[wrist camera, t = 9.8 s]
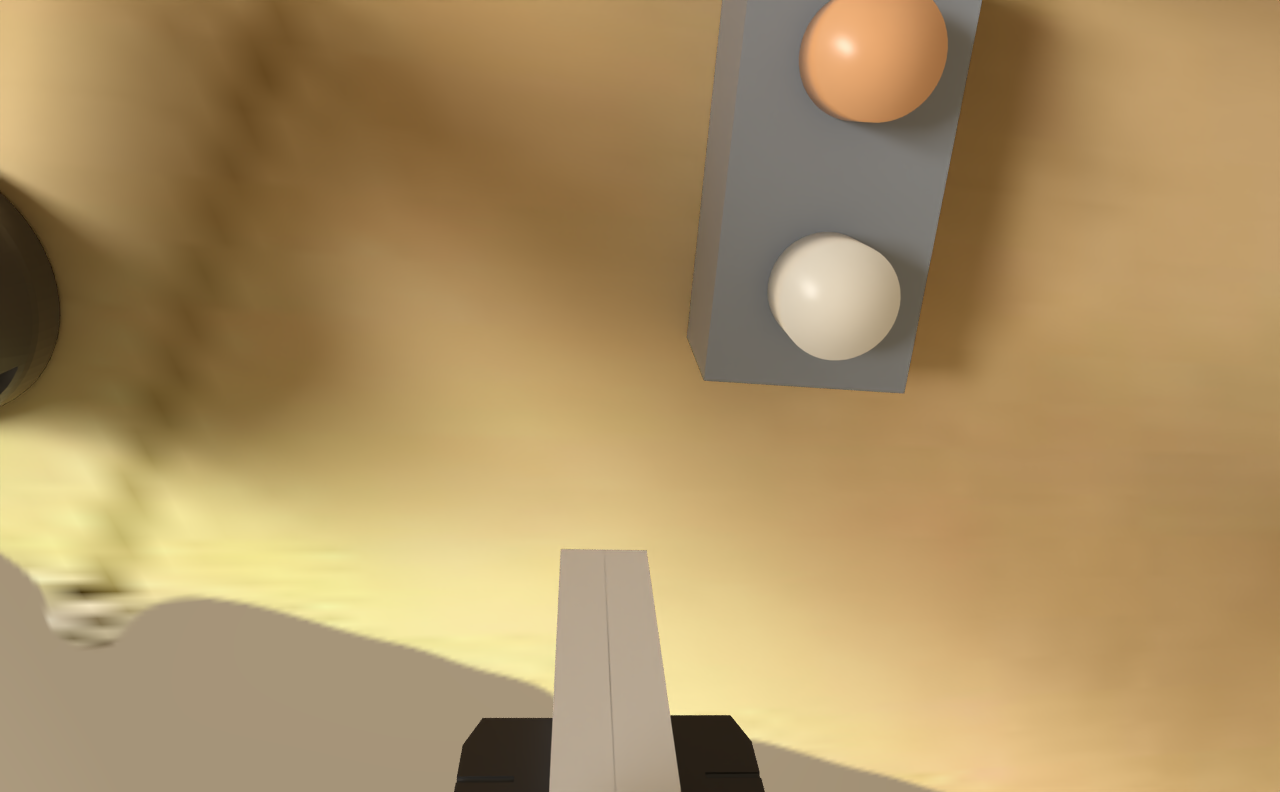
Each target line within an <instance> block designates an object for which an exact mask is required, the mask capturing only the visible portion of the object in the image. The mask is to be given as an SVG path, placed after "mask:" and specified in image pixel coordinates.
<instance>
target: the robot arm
mask: <svg viewBox="0 0 1280 792" xmlns="http://www.w3.org/2000/svg"><path fill="white" fill-rule="evenodd" d="M59 319H60V307H59V297H58V291H57V285H56V281H55V278H54V274H53V271H52V268H51V265H50V263H49V260H48V258H47V256H46V253H45V251H44V249H43V247H42V245H41V243H40V242H39V240H38V238H37V237H36V235H35V233H34V232H33V230H32V229H31V227H30V226H29V224H28V223H27V222H26V220H25V219H24V218H23V217H22V215H21V214H20V213H19V212H18V210H17V209H16V208H15V207H14V206H13V205H12V204H11V203H10V202H9V201H8V200H7V199H6V198H5V197H4V196H3V195H2V194H1V193H0V406H2V405H4V404H6V403H8V402H10V401H11V400H13V399H15V398H16V397H18V396H19V395H20V394H22V393H23V392H24V391H25V390H27V389H28V388H29V387H30V386H31V385H32V384H33V383H34V382H35V381H36V379H37V378H38V377H39V376H40V374H41V373H42V372H43V370H44V369H45V367H46V365H47V363H48V362H49V360H50V357H51V355H52V353H53V350H54V347H55V344H56V340H57V336H58V330H59ZM454 792H765V791H764V788H763V783H762V780H761V778H760V776H759V768H758V764H757V761H756V757H755V753H754V749H753V745H752V742H751V740H750V739H749V738H748V737H747V735H746V734H745V733H744V732H743V730H742V729H741V728H740V727H739V725H738V724H737V723H736V722H735V721H734V719H733V718H732V717H731V716H730V715H670V711H669V704H668V697H667V690H666V683H665V676H664V669H663V662H662V655H661V648H660V641H659V634H658V627H657V620H656V613H655V606H654V599H653V592H652V585H651V578H650V571H649V564H648V557H647V550H586V549H561V556H560V576H559V597H558V618H557V639H556V660H555V681H554V701H553V718H482V720H481V721H480V723H479V724H478V725H477V727H476V728H475V729H474V731H473V732H472V733H471V735H470V736H469V737H468V739H467V740H466V742H465V743H464V744H463V747H462V753H461V758H460V763H459V769H458V774H457V783H456V785H455V791H454Z"/></svg>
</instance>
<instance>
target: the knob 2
mask: <svg viewBox="0 0 1280 792" xmlns="http://www.w3.org/2000/svg"><path fill="white" fill-rule="evenodd" d="M767 292H768V302H769V306H770V309H771V312H772V314H773V316H774V318H775V319H776V321H777V322H778V324H779V325H780V326H781V327H782V328H783V330H784V331H785V332H786V333H787V334H788V336H789V337H790V338H791V339H792V340H793V342H794V343H795V344H796V345H797V346H798V347H799V348H801V349H802V350H803V351H805V352H806V353H808V354H810V355H812V356H814V357H817V358H821V359H825V360H846V359H850V358H854V357H857V356H860V355H862V354H864V353H866V352H868V351H869V350H871V349H872V348H874V347H875V346H876V345H877V344H878V343H880V342H881V341H882V340H883V339H884V337H885V336H886V335H887V334H888V332H889V331H890V329H891V328H892V326H893V324H894V322H895V320H896V317H897V315H898V311H899V307H900V299H901V297H900V285H899V281H898V277H897V275H896V273H895V270H894V269H893V267H892V266H891V264H890V263H889V262H888V260H887V259H886V258H885V257H884V256H883V255H882V254H880V253H879V252H878V251H876V250H874V249H873V248H871V247H869V246H867V245H865V244H863V243H861V242H859V241H857V240H855V239H853V238H851V237H849V236H847V235H844V234H841V233H835V232H820V233H814V234H810V235H808V236H805V237H803V238H801V239H799V240H797V241H796V242H794V243H793V244H791V245H790V246H789V247H788V248H787V249H786V250H785V251H784V252H783V253H782V254H781V255H780V256H779V258H778V259H777V261H776V263H775V264H774V266H773V268H772V271H771V274H770V277H769V282H768V291H767Z"/></svg>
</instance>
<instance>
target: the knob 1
mask: <svg viewBox="0 0 1280 792" xmlns="http://www.w3.org/2000/svg"><path fill="white" fill-rule="evenodd" d="M947 52H948V37H947V30H946V25H945V22H944V19H943V16H942V14H941V12H940V10H939V8H938V7H937V5H936V4H935V2H934V1H933V0H830V1H829V2H828V3H827V4H825V5H824V6H823V7H822V8H821V9H820V10H819V11H818V12H817V13H816V14H815V16H814V17H813V18H812V20H811V21H810V23H809V25H808V26H807V29H806V31H805V33H804V36H803V39H802V42H801V46H800V51H799V70H800V76H801V80H802V83H803V86H804V88H805V90H806V92H807V94H808V96H809V97H810V99H811V100H812V101H813V102H814V104H815V105H816V106H817V107H818V108H820V109H821V110H822V111H823V112H825V113H826V114H828V115H830V116H832V117H834V118H837V119H840V120H845V121H854V122H873V123H880V122H888V121H892V120H896V119H898V118H901V117H903V116H905V115H907V114H909V113H910V112H912V111H913V110H915V109H916V108H917V107H919V106H920V105H921V104H922V103H923V102H924V101H925V100H926V99H927V98H928V97H929V96H930V94H931V93H932V92H933V90H934V89H935V87H936V86H937V84H938V82H939V80H940V78H941V76H942V73H943V70H944V67H945V63H946V59H947Z"/></svg>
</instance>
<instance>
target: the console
mask: <svg viewBox="0 0 1280 792" xmlns="http://www.w3.org/2000/svg"><path fill="white" fill-rule="evenodd" d="M829 1H830V0H722V8H721V18H720V27H719V37H718V46H717V56H716V65H715V75H714V84H713V94H712V103H711V113H710V122H709V132H708V141H707V151H706V160H705V170H704V179H703V189H702V198H701V208H700V217H699V227H698V236H697V246H696V255H695V265H694V274H693V284H692V293H691V303H690V312H689V322H688V331H687V339H688V341H689V344H690V346H691V349H692V352H693V354H694V357H695V359H696V362H697V364H698V367H699V369H700V372H701V375H702V377H703V380H704V381H719V382H735V383H750V384H766V385H781V386H797V387H812V388H828V389H843V390H859V391H874V392H890V393H904V392H905V387H906V382H907V377H908V372H909V367H910V362H911V357H912V351H913V346H914V341H915V336H916V331H917V326H918V321H919V316H920V311H921V306H922V301H923V296H924V291H925V286H926V281H927V276H928V271H929V266H930V261H931V256H932V251H933V246H934V241H935V235H936V230H937V225H938V220H939V215H940V210H941V205H942V200H943V195H944V190H945V185H946V180H947V175H948V170H949V165H950V160H951V155H952V150H953V145H954V140H955V135H956V130H957V125H958V119H959V114H960V109H961V104H962V99H963V94H964V89H965V84H966V79H967V74H968V69H969V64H970V59H971V54H972V49H973V44H974V39H975V34H976V29H977V24H978V19H979V14H980V8H981V3H982V0H933V1H934V2H935V4H936V5H937V7H938V8H939V10H940V12H941V14H942V16H943V19H944V22H945V25H946V30H947V37H948V52H947V59H946V63H945V67H944V70H943V73H942V76H941V78H940V80H939V82H938V84H937V86H936V87H935V89H934V90H933V92H932V93H931V94H930V96H929V97H928V98H927V99H926V100H925V101H924V102H923V103H922V104H921V105H920V106H919V107H917V108H916V109H915V110H913V111H912V112H910V113H909V114H907V115H905V116H903V117H901V118H898V119H896V120H892V121H888V122H880V123H873V122H854V121H845V120H840V119H837V118H834V117H832V116H830V115H828V114H826V113H825V112H823V111H822V110H821V109H820V108H818V107H817V106H816V105H815V104H814V102H813V101H812V100H811V99H810V97H809V96H808V94H807V92H806V90H805V88H804V86H803V83H802V80H801V76H800V70H799V51H800V46H801V42H802V39H803V36H804V33H805V31H806V29H807V26H808V25H809V23H810V21H811V20H812V18H813V17H814V16H815V14H816V13H817V12H818V11H819V10H820V9H821V8H822V7H823V6H824V5H825V4H827V3H828V2H829ZM820 232H835V233H841V234H844V235H847V236H849V237H851V238H853V239H855V240H857V241H859V242H861V243H863V244H865V245H867V246H869V247H871V248H873V249H874V250H876V251H878V252H879V253H880V254H882V255H883V256H884V257H885V258H886V259H887V260H888V262H889V263H890V264H891V266H892V267H893V269H894V270H895V273H896V275H897V277H898V281H899V285H900V297H901V299H900V307H899V311H898V315H897V317H896V320H895V322H894V324H893V326H892V328H891V329H890V331H889V332H888V334H887V335H886V336H885V337H884V339H883V340H882V341H881V342H880V343H878V344H877V345H876V346H875V347H874V348H872V349H871V350H869V351H868V352H866V353H864V354H862V355H860V356H857V357H854V358H850V359H846V360H825V359H821V358H817V357H814V356H812V355H810V354H808V353H806V352H805V351H803V350H802V349H801V348H799V347H798V346H797V345H796V344H795V343H794V342H793V340H792V339H791V338H790V337H789V336H788V334H787V333H786V332H785V331H784V330H783V328H782V327H781V326H780V325H779V324H778V322H777V321H776V319H775V318H774V316H773V314H772V312H771V309H770V306H769V302H768V292H767V291H768V282H769V277H770V274H771V271H772V268H773V266H774V264H775V263H776V261H777V259H778V258H779V256H780V255H781V254H782V253H783V252H784V251H785V250H786V249H787V248H788V247H789V246H790V245H791V244H793V243H794V242H796V241H797V240H799V239H801V238H803V237H805V236H808V235H810V234H814V233H820Z"/></svg>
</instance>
